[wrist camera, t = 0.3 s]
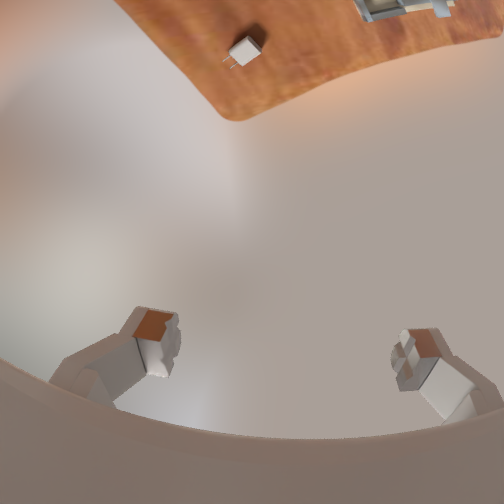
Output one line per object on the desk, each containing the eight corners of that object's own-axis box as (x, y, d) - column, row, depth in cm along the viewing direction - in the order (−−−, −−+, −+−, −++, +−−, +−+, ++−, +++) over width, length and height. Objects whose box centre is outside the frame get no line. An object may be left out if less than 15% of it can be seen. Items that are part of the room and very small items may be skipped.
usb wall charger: (262, 49, 44) (261, 53, 42) (234, 68, 48) (231, 74, 45) (248, 34, 41) (246, 38, 39) (221, 55, 45) (217, 60, 43)
